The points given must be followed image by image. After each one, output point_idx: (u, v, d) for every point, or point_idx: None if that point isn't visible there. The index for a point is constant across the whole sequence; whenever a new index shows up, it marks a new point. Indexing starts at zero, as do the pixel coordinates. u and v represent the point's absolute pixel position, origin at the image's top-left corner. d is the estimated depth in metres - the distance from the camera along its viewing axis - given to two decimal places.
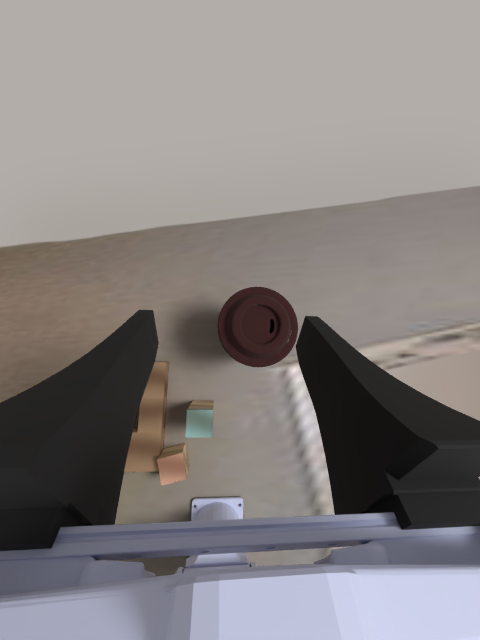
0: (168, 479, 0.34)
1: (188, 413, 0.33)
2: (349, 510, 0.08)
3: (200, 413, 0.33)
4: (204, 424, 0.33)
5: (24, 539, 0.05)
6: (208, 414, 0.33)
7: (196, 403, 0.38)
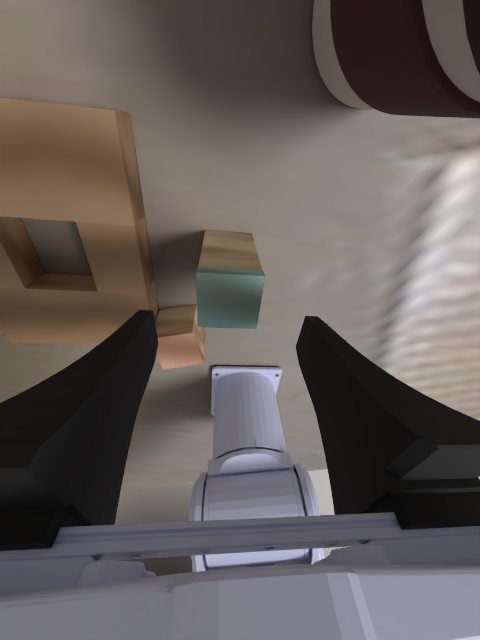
0: (173, 363, 0.21)
1: (200, 281, 0.13)
2: (349, 510, 0.08)
3: (231, 282, 0.13)
4: (240, 305, 0.14)
5: (24, 539, 0.05)
6: (251, 285, 0.13)
7: (216, 242, 0.16)
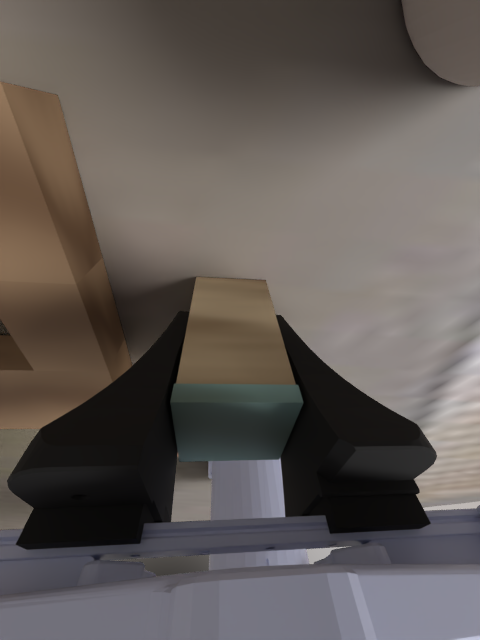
0: None
1: (180, 412, 0.07)
2: (294, 513, 0.07)
3: (239, 411, 0.07)
4: (254, 434, 0.08)
5: (24, 539, 0.05)
6: (276, 412, 0.07)
7: (211, 306, 0.10)
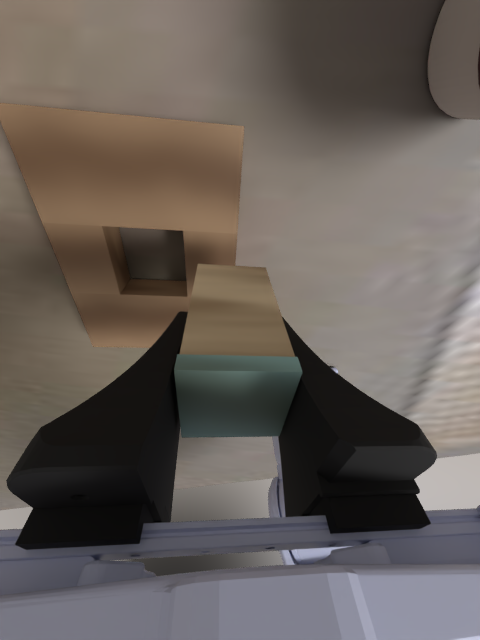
0: None
1: (184, 381, 0.07)
2: (294, 512, 0.07)
3: (241, 381, 0.07)
4: (255, 408, 0.08)
5: (24, 539, 0.05)
6: (276, 383, 0.07)
7: (213, 289, 0.10)
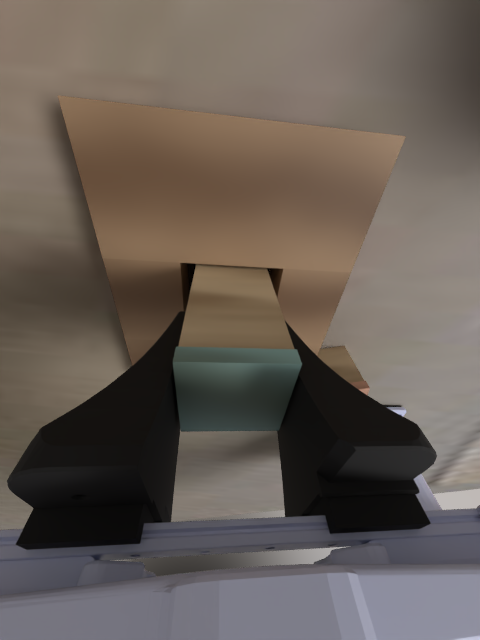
0: None
1: (182, 373, 0.07)
2: (294, 513, 0.07)
3: (240, 373, 0.07)
4: (254, 401, 0.08)
5: (24, 539, 0.05)
6: (275, 376, 0.07)
7: (212, 283, 0.10)
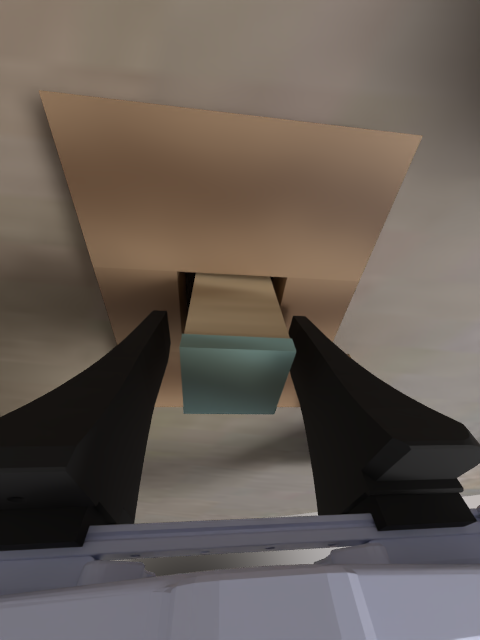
0: None
1: (188, 358, 0.07)
2: (331, 511, 0.07)
3: (240, 359, 0.08)
4: (252, 386, 0.09)
5: (24, 539, 0.05)
6: (272, 362, 0.08)
7: (214, 277, 0.11)
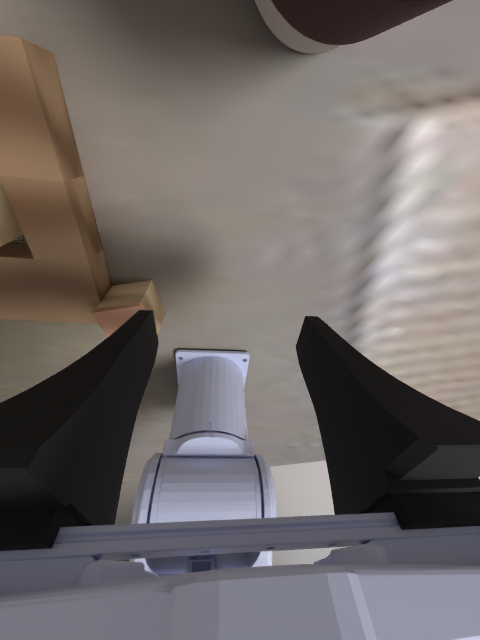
0: None
1: None
2: (349, 510, 0.08)
3: None
4: None
5: (24, 539, 0.05)
6: None
7: None
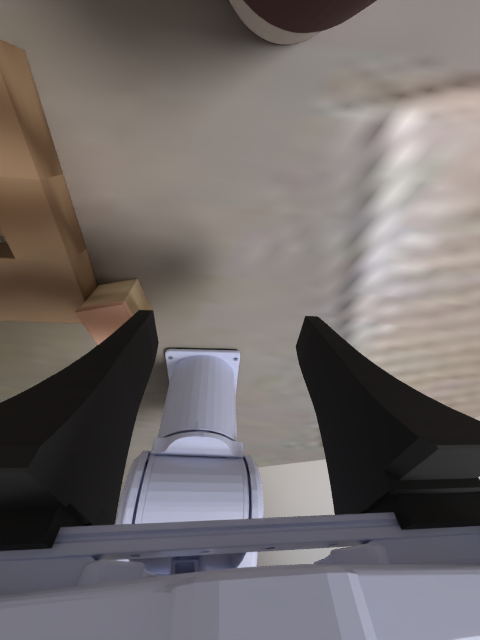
0: None
1: None
2: (349, 511, 0.08)
3: None
4: None
5: (24, 539, 0.05)
6: None
7: None
